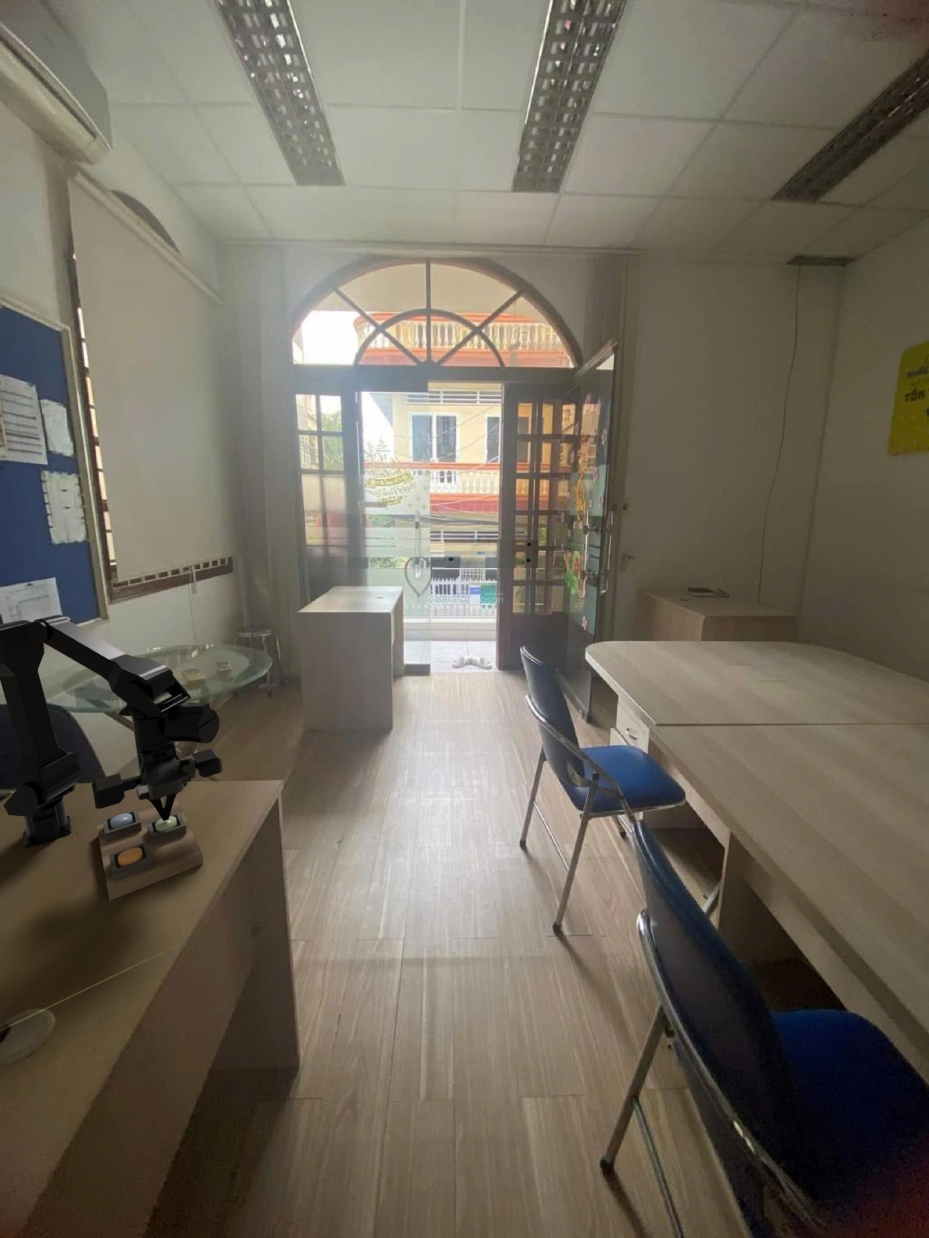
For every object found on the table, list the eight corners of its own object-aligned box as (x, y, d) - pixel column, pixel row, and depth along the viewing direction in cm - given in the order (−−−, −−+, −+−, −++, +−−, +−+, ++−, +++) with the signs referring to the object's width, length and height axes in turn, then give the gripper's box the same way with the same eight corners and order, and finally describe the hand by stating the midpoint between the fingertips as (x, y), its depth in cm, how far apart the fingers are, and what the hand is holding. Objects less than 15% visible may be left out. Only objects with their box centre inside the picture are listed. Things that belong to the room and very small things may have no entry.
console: (98, 835, 89) (95, 817, 88) (179, 808, 97) (177, 792, 97) (109, 901, 74) (106, 880, 74) (203, 863, 83) (201, 844, 82)
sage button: (154, 828, 87) (153, 820, 87) (175, 821, 89) (174, 814, 89) (158, 837, 85) (156, 829, 85) (178, 830, 87) (177, 822, 87)
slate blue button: (110, 825, 88) (109, 817, 88) (131, 818, 90) (130, 811, 90) (112, 834, 86) (111, 826, 85) (134, 827, 88) (133, 819, 87)
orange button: (118, 861, 79) (116, 852, 79) (141, 853, 81) (140, 844, 81) (120, 872, 77) (119, 863, 76) (144, 863, 79) (143, 854, 78)
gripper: (90, 775, 72) (105, 867, 75) (226, 739, 83) (234, 820, 87) (85, 747, 80) (99, 832, 83) (210, 718, 92) (217, 793, 95)
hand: (165, 819), depth 87 cm, fingers closed
